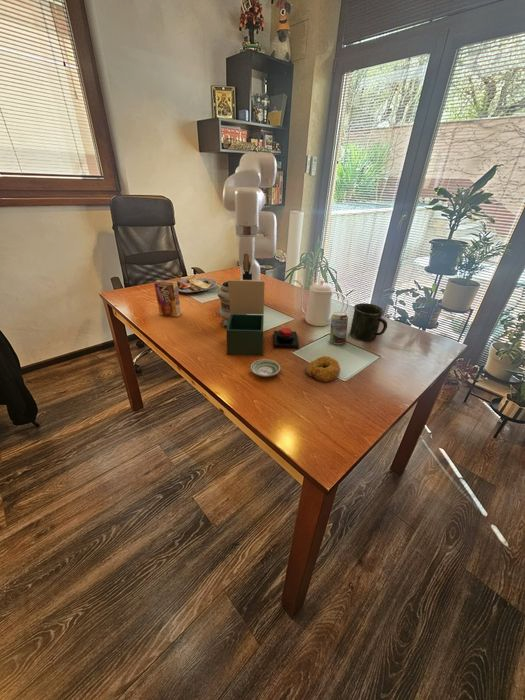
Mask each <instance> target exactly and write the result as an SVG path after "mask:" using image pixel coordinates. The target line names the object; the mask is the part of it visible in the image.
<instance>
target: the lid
mask: <svg viewBox="0 0 525 700" xmlns="http://www.w3.org/2000/svg"><path fill="white" fill-rule="evenodd" d="M227 281H228V288H229V301H230V313H231V314H247V315H265V283H266V281H265V280H262V279H260V280H241V279H231V278H230V279H227Z"/></svg>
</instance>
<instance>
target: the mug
mask: <svg viewBox="0 0 525 700" xmlns="http://www.w3.org/2000/svg"><path fill="white" fill-rule="evenodd" d="M353 309H354V311H353V316H352V320H351V326H350V330H349V332H350V336H351V337H352V338H354V339H355V340H358V341H362V342H372V341H375V339H376V338H377V336H382V335H383V334H385V332H386V331H387V329H388V322H387V321H386V319H384V318H382V316H383V314H384V312H385V310H384V308H382V307H381V306H379V305H377V304H373V303H366V302H363V303H361V302H360V303H356V304H355V305H354V306H353ZM381 323H382V325H383V327H382V329H381V331H380V332H379V328H380V324H381Z"/></svg>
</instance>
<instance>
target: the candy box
mask: <svg viewBox="0 0 525 700" xmlns="http://www.w3.org/2000/svg"><path fill="white" fill-rule="evenodd" d="M177 281H178V280H163V279H157V280H155V281H154V282H153V284H154V289H155V295H156V301H157V307H158V313H159V316H165V317H176V318H178V317H179V316H180V315H182V310H181V303H180V302H181V301H180V295H179V291H178V286H177Z"/></svg>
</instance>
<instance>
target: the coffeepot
mask: <svg viewBox="0 0 525 700" xmlns="http://www.w3.org/2000/svg"><path fill="white" fill-rule="evenodd" d="M293 282H296V283H298V284H299V285H300V310H301V312H302V313H303V315H304V320H305V322H306V323H307V324H308V325H310V326H313V327H324V326H327V325H329V324H330V323H331V310H332V309H331V308H332V296H333V294H336V295H338V296H339V298H340V299H341V301H342V308H341V311H340V312H343V311H344V312H346V311H347V310H348V307H349V299H348V297H347V296H346V295H345V294H344V293H342V292H340V291H334V290H333V287H332V285H331V284H329V283H328V282H326V280H325V279H320V280H319V281H318V282H317V281H316V282H313V283H312V284H311V286H310V287H309V294H308V298H307V299H308V300H307V305H306V310H304V301H303V300H304V284H303V283H302V281H300V280H298V279H294V280H293ZM343 297H344V298H343ZM344 299H345V300H344ZM345 301H346V308H345V310H344V307H345Z"/></svg>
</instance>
